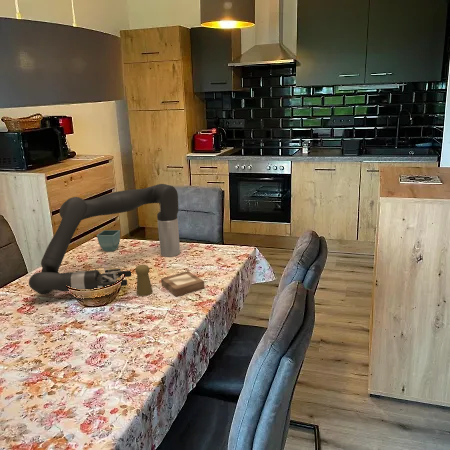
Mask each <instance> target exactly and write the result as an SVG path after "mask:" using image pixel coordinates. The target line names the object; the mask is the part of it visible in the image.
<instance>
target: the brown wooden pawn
mask: <svg viewBox="0 0 450 450" xmlns="http://www.w3.org/2000/svg"><path fill="white" fill-rule="evenodd" d="M134 271H135V274H136V295H137V296H139V297H147V296H150V295H152V294H153V293H154V292H153V288H152V283H151V280H150V275H149V273H150V267H149V265H147V264H138V265H137V266H136V267H135V269H134Z"/></svg>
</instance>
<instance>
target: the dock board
mask: <svg viewBox="0 0 450 450" xmlns="http://www.w3.org/2000/svg"><path fill="white" fill-rule="evenodd" d="M160 281H161V287H163V288H164V289H166V290H167V291H168V292H169V293H171V294H172V295H173V296H175V297H176V298H178V297H181V296H185V295H187V294H190V293H194V292H198V291H201V290H204V289H205V281H204V280H203V279H202V278H200V277H198V276H197V275H195V274H194V273H192V272H190V271H189V270H188V271H185V272H179V273H176V274H173V275H170V276H169V275H168V276H165V277H163V278H161V280H160Z"/></svg>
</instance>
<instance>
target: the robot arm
mask: <svg viewBox="0 0 450 450" xmlns="http://www.w3.org/2000/svg"><path fill="white" fill-rule="evenodd" d="M149 204H159V205H160V209H159V210H160V211H159V212H158V213H156V214H157V215H156V216H157V229H158V238H159V239H158V240H159V250H160V251H159V252H160V255H161V256H162V257H168V258H170V257H175V256H178V255H180V253H181V248H180V247H181V246H180V235H179V234H180V233H179V222H178V214H179V194H178V189H176V187H175V186H173V185H169V184H166V183H159V184H156V185H155V184H154V185H152V186H148V187H145V188H138V189H135V188H134V189H126V190H120V191H114V192H110V193H107V194H103V195H101V196H98V197H95V198H91V199H83V198H81V197H78V196H73V197H70V198H68V199H66V200H65V201H64V202H63V203H62V204H61V206H60V209H59V216H60V217H61V221H60V224H59V226H58V228H57V229H56V231H55V234H54V235H53V236H52V238H51V240H50V242H49V243H48V246H47V248H46V249H45V251H44V254H43V256H42V259H41V261H40V265H41V268H42V269H41V271H39V272H35V273H34V274H32V275H31V276H30V277H29V279H28V285H29V287H30V289H32V291H34V292H36V293H37V294H39V295H43V296H44V295H49V294H50V293H51V292H52V291H55V290H56V291H59V292H70V291H69V290H68V288H67V287H66V285H67V286H70V287H72V288H76V289H94V288H101V287H105V286H107V285H112V284H114V283H116V282H117V281H119V280H120V278H121V277H120V276H121V275H122V274H125V277H124V278H129V277H130V278H131V277H132V271H131V270H121V268H113V269H111V268H110V269H105V270H104V273H100V271H99V270H98V269H92V270H78V271H71V272H59V270H60V267H61V265H62V263H63V260H64V258H65V255H66V253H67V251H68V248H69V245H70V243H71V241H72V238H73V236H74V234H75V232H76V230H77V229H78V227H79V225H80V223H81V222H82V221H83V220H86V219H89V218H94V217H101V216H110V215H116V214H122V213H127V212H130V211H134V210H135V209H138V208H140V207H142V206H145V205H149ZM121 280H122V282H121V286H120V287H125V286H128V279H121Z"/></svg>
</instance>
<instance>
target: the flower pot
mask: <svg viewBox="0 0 450 450" xmlns="http://www.w3.org/2000/svg"><path fill="white" fill-rule="evenodd" d="M96 239H97V242H98V245H99V247H100V248H101V250H102V251H104V252H114V251H115V250H116V249H118V248H119V246H120V242H121V230H120V229H114V230H113V229H109V230H108V229H105V230H104V229H103V230H102V231H101V232H98V234H96Z"/></svg>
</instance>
